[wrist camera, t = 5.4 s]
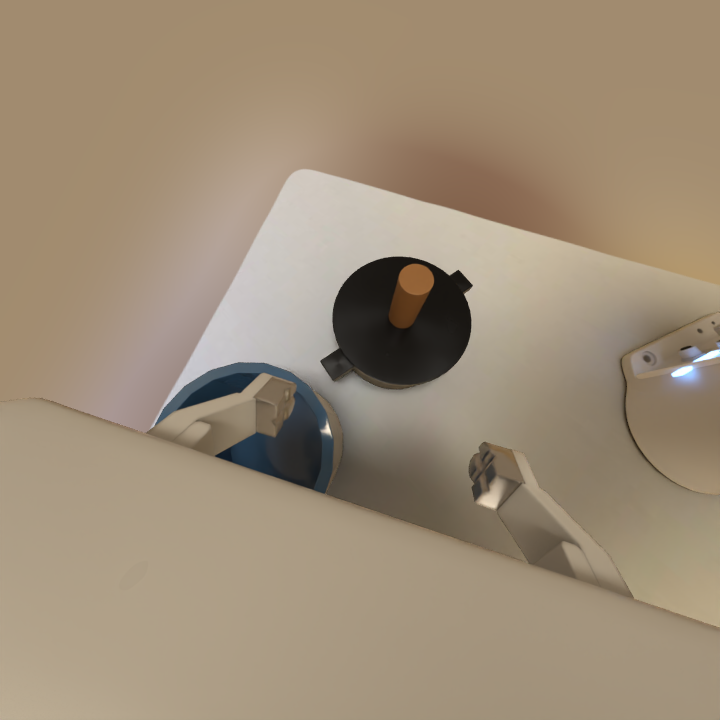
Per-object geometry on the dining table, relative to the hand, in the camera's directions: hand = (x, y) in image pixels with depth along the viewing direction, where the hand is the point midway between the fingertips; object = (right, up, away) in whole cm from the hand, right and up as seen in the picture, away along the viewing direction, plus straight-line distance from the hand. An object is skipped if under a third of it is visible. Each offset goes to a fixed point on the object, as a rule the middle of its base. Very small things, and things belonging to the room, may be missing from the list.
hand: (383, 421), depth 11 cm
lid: (+3, +7, +15) cm, 16 cm away
